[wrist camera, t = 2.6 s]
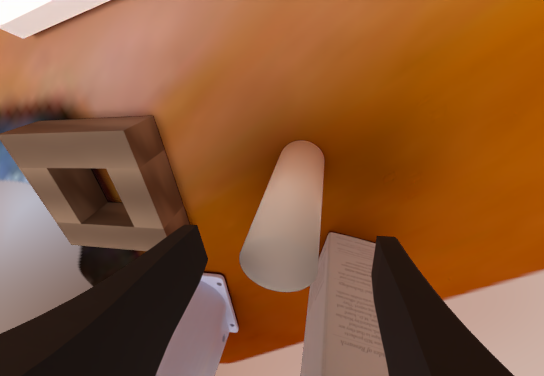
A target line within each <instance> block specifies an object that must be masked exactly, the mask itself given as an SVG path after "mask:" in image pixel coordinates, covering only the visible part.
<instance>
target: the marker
mask: <svg viewBox="0 0 544 376" xmlns="http://www.w3.org/2000/svg"><path fill="white" fill-rule="evenodd" d="M108 1H110V0H0V29H2V30H4V31H7V32H9V33H11V34H14V35H16V36H18V37H20V38H23V39H24V38H26V37H29V36H31V35H33V34H35V33H38V32H40V31H42V30H44V29H47V28H49V27H51V26H53V25H56V24H58V23H60V22H62V21H65V20H67V19H69V18H71V17H74V16H76V15H78V14H81V13H83V12H85V11H87V10H90V9H92V8H94V7H96V6H99V5H101V4H103V3H105V2H108Z"/></svg>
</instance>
